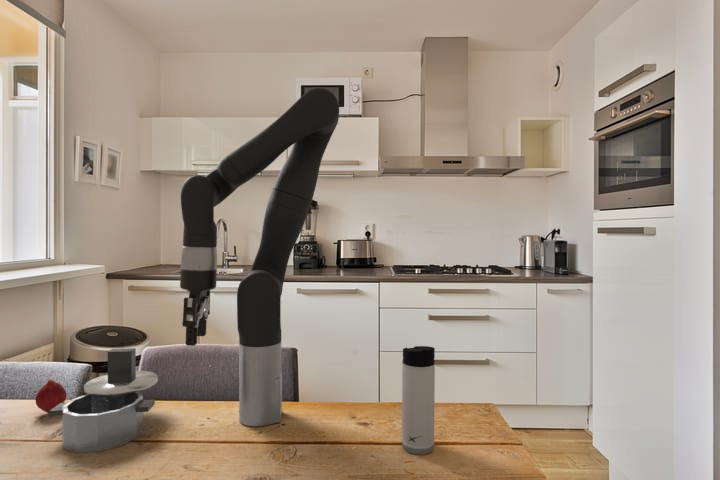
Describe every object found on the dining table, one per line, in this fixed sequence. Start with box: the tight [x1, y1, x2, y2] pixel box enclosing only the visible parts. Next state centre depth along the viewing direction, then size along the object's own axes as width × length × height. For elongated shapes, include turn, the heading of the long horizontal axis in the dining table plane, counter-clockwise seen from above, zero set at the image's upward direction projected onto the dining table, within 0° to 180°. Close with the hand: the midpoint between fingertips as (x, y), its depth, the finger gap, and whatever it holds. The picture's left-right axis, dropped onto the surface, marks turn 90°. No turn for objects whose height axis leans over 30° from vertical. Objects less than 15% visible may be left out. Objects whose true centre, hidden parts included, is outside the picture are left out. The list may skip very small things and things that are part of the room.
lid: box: [83, 347, 159, 397], centre depth 100 cm, size 15×15×8 cm
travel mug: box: [401, 345, 436, 456], centre depth 87 cm, size 6×7×20 cm
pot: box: [49, 391, 156, 454], centre depth 91 cm, size 19×14×7 cm
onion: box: [35, 378, 67, 414], centre depth 102 cm, size 6×6×8 cm
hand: (196, 340), depth 98 cm, fingers open, 8 cm apart
